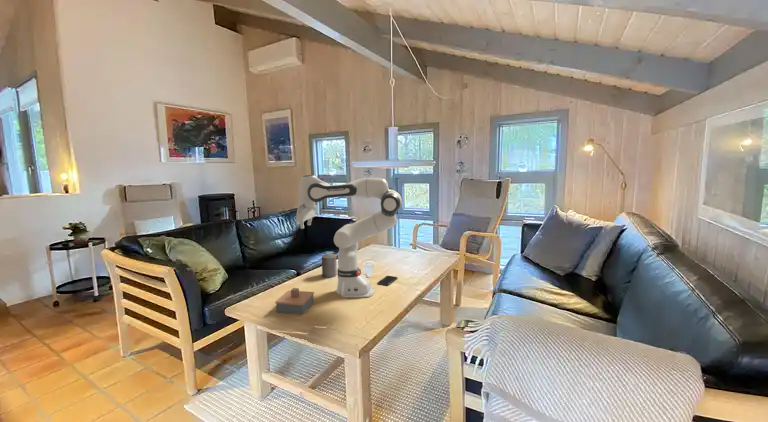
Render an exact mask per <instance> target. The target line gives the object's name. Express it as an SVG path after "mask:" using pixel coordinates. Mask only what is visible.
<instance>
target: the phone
mask: <svg viewBox="0 0 768 422" xmlns="http://www.w3.org/2000/svg"><path fill="white" fill-rule="evenodd" d="M397 280H398V277H397V276H393V275H386V276H384V277H383V278H382V279H380V280H379V281H378V282H377V283H376V284H377V285H379V286H385V287H388V286H390V285H392V284H393V283H394V282H395V281H397Z"/></svg>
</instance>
